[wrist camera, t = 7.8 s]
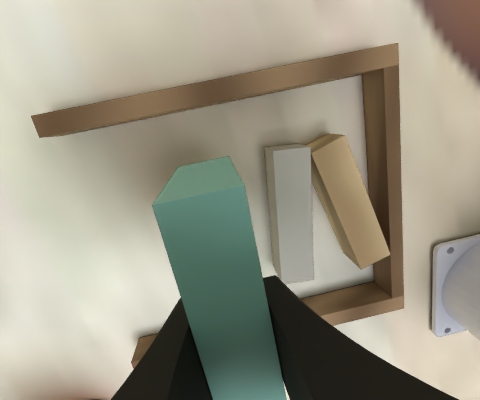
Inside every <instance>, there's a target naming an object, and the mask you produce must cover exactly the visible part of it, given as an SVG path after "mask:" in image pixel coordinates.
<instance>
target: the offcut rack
mask: <svg viewBox="0 0 480 400" xmlns="http://www.w3.org/2000/svg"><path fill="white" fill-rule="evenodd" d="M358 75H362V79H363V96H364V113H365V130H366V148H367V165H368V182H369V199H370V202H371V204H372V207H373V210H374V212H375V215H376V217H377V220H378V223H379V225H380V228H381V231H382V233H383V236H384V238H385V241H386V244H387V246H388V249H389V252H390V255H389V256H387V257H385V258H383V259H381V260H379V261H377V262H375V263H373V268H374V282H370V283H365V284H361V285H357V286H353V287H349V288H345V289H341V290H336V291H332V292H328V293H324V294H320V295H316V296H312V297H307V298H303V299H300V300H302V301H303V302H304V303H305V304H306V305H307V306H308V307H310V308H311V309H312V310H313V311H314V312H315V313H317V314H318V315H319V316H320V317H322V318H323V319H324V320H325V321H327V322H328V323H329V324H331V325H332V326H334V325H338V324H342V323H346V322H350V321H354V320H358V319H362V318H366V317H371V316H375V315H379V314H383V313H387V312H391V311H395V310H399V309H403V308H404V285H403V239H402V192H401V146H400V99H399V53H398V43H395V44H390V45H385V46H380V47H375V48H370V49H365V50H360V51H355V52H350V53H345V54H339V55H334V56H329V57H324V58H319V59H314V60H309V61H304V62H299V63H294V64H289V65H284V66H279V67H274V68H269V69H264V70H259V71H254V72H249V73H244V74H239V75H234V76H229V77H224V78H219V79H214V80H209V81H204V82H199V83H194V84H189V85H184V86H179V87H174V88H169V89H164V90H159V91H154V92H149V93H144V94H139V95H134V96H129V97H124V98H118V99H113V100H108V101H103V102H98V103H93V104H88V105H83V106H78V107H73V108H68V109H63V110H58V111H53V112H48V113H43V114H38V115H33V116H31V118H32V120H33V123H34V125H35V128H36V130H37V133H38V135H39V138H41V137H53V136H63V135H68V134H73V133H78V132H83V131H88V130H93V129H98V128H103V127H108V126H113V125H117V124H122V123H127V122H132V121H137V120H142V119H147V118H152V117H157V116H162V115H167V114H172V113H176V112H181V111H186V110H191V109H196V108H201V107H206V106H211V105H216V104H221V103H226V102H230V101H235V100H240V99H245V98H250V97H255V96H260V95H265V94H270V93H275V92H280V91H285V90H289V89H294V88H299V87H304V86H309V85H314V84H319V83H324V82H329V81H334V80H339V79H343V78H348V77H353V76H358ZM157 335H158V334H154V335H150V336H146V337H142V338H139V340H138V343H137V346H136V349H135V352H134V355H133V358H132V361H131V363H132V366H133V368H135V367H136V366H137V364H138V363H139V361H140V360H141V359H142V357H143V356H144V354H145V353H146V351H147V350H148V348H149V347H150V345H151V344H152V342H153V341H154V339H155V338H156V336H157Z"/></svg>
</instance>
